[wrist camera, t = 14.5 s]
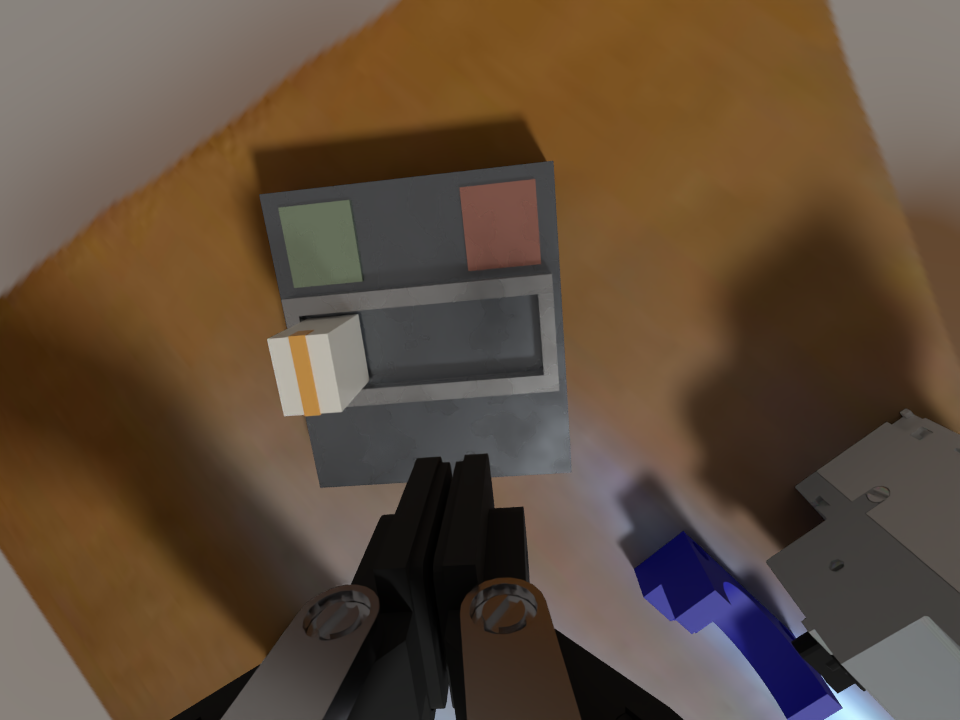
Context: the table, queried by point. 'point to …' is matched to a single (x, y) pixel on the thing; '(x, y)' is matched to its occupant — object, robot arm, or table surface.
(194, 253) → the table surface
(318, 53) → the table surface
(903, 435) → the circuit breaker
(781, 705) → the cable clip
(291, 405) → the taped parcel
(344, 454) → the panel
